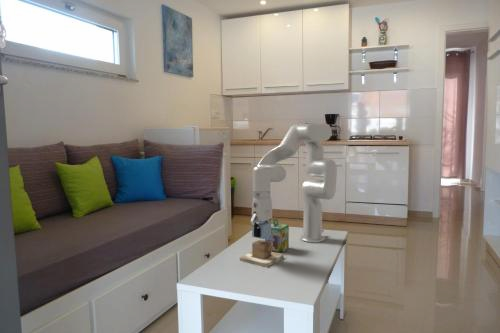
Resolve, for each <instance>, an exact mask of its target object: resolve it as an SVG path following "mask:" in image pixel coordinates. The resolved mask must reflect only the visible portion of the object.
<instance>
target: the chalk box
mask: <svg viewBox="0 0 500 333" xmlns="http://www.w3.org/2000/svg"><path fill="white" fill-rule="evenodd" d="M272 219H273V220H272V222H271V236H270V237H267V238H265V239H264V241H269V242H271V252H274V253H280V254H281V253H283V252H284V251H286V250H288V249H289V247H290V245H289V244H290V243H289V238H290V234H289V232H290V227H289V226H290V225H289V224H283V223H279V219H278V218H277V217H275V218H272Z"/></svg>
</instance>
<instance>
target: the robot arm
mask: <svg viewBox="0 0 500 333" xmlns="http://www.w3.org/2000/svg"><path fill="white" fill-rule="evenodd" d="M332 133H333V132H332V128H331V126H330V125H329V124H328V123H296V124H293V125H291V126H290V128H289V129H288V131H287V132H286V134H285V135H284V137H283V139H282V140H281V142H280V143H279V145H277V146H275V147H274V148H272V149H271V150H269V151H268V152H267V153H266V154H265V155H264V156H262V158H261V159H260V161H259V162H258V164H257V166H254V167H253V169H252V204H251V219H250V223H251V226H252V225H253V228H254V237H253V238H255V237H259V238H258V239H261V238H260V237H261V228H260V224H261V222H271V221H272V219H273V204H272V203H273V202H272V201H273V200H272V197H271V183H280V182H282V181H284V180H285V179H286V176H287V171H286V169H285V167H284V166H282V165H277V163H279V162H282V161H285V160H287V159H290V158H292V157H294V156H295V155H296V153H297V152H298V150H299V149H300V147H301V144H302V143H304V144H305V148H306V159H305V161H306V164H305V171H306V172H305V173H306V174H307V175H308V176H309V177H314V178H315V177H316V178H323V179H314V178H309V179H305V180H304V181H303V182H302V184H301V194H302V199H303V218H302V219H303V224H302V225H303V228H302V231H303V234H301V235H300V237H299V239H300V240H301V241H303V242H306V243H313V244H315V243H322V242H324V241H325V239H326V237H325V236H324V235H322V234H323V233H324V231H325V229H323V204H322V201H321V200H329V201H330V200H332V199H333V198H334V197H335V195H336V190H337V176H338V168H337V167H338V166H337V163H336V161H335V160H334V159H331V158H325V157H324V155H325V154H324V153H325V152H324V151H325V150H324V146H323V143H322V142H325V141H328V140H330V138H331V136H332ZM256 222H258V225H257V223H256Z"/></svg>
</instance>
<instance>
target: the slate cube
mask: <svg viewBox="0 0 500 333" xmlns="http://www.w3.org/2000/svg"><path fill="white" fill-rule="evenodd" d="M256 223H257V225H258V222H256ZM271 223H272V222H271V221H270V222H261V224H260V228H261V237H260V238H259V237H254V228H253V225H252V224H251V237H252V238H256V239H260V240H265V238H267V237H270V236H271Z"/></svg>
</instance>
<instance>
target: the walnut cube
mask: <svg viewBox="0 0 500 333" xmlns="http://www.w3.org/2000/svg"><path fill="white" fill-rule="evenodd" d="M251 246H252V247H251V249H252V251H251V252H252V256H253V257H257V258H262V259H265V258H267V257H269V256H271V252H272V251H271V242H269V241H265V239H259V240H256V241H254V242H252V244H251Z"/></svg>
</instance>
